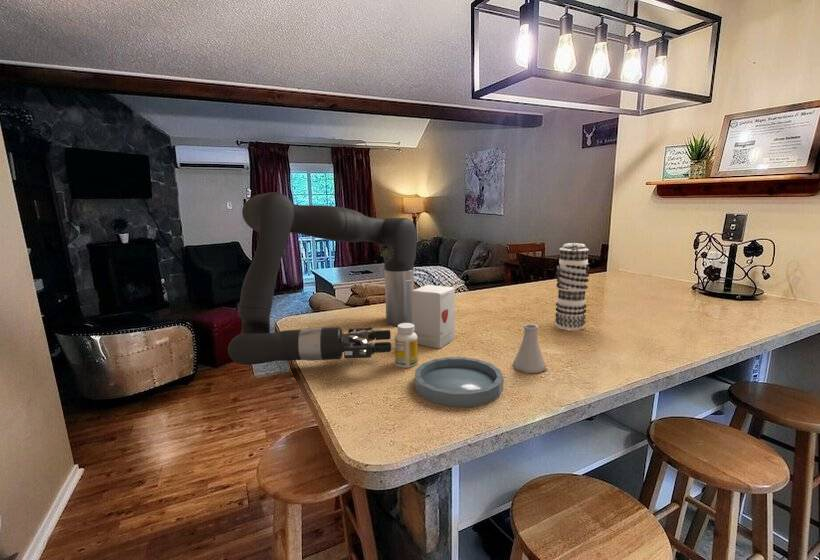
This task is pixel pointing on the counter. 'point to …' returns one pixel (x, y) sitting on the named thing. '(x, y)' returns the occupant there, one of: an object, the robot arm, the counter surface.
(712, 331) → the counter surface
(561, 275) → the decorative candle
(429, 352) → the counter surface
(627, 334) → the counter surface
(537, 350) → the flask
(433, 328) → the supplement box
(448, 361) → the dish
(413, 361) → the supplement bottle
